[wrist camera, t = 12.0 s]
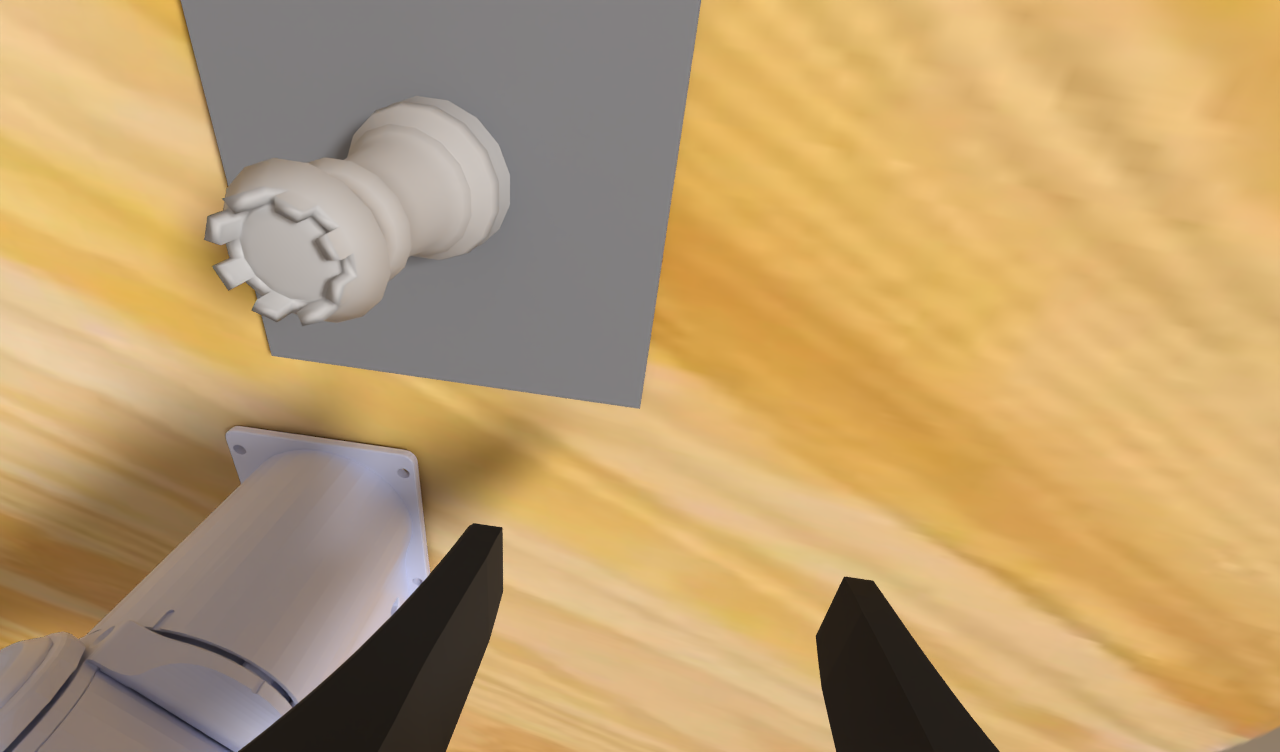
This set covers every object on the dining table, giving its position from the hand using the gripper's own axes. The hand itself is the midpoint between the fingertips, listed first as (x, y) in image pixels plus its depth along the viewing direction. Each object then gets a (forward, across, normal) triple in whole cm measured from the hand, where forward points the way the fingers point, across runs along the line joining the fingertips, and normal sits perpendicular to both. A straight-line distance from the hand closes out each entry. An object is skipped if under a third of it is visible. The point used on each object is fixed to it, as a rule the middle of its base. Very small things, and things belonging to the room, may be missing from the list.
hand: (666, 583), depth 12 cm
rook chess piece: (+10, +8, -6) cm, 14 cm away
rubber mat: (+10, +8, -5) cm, 14 cm away
